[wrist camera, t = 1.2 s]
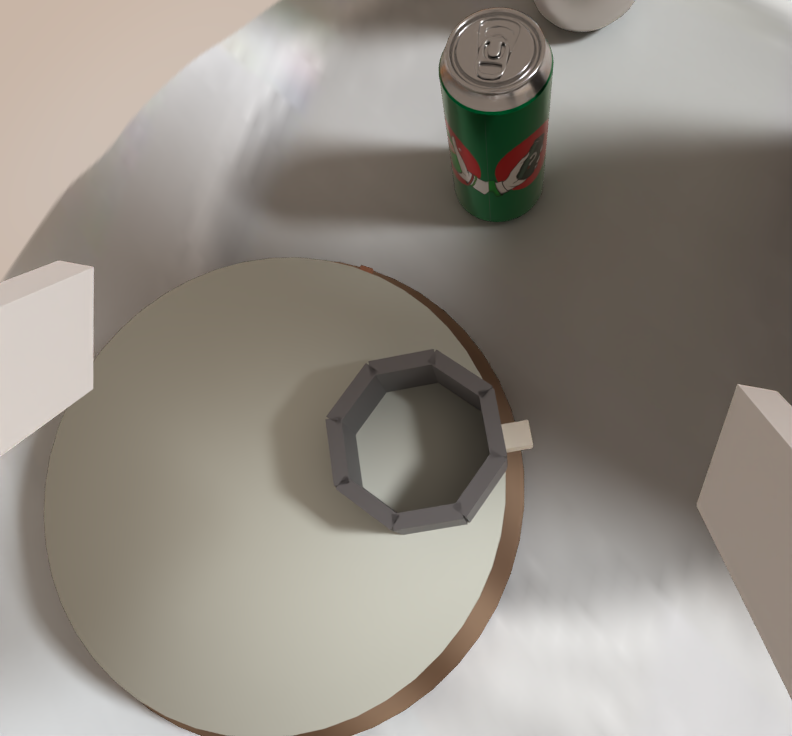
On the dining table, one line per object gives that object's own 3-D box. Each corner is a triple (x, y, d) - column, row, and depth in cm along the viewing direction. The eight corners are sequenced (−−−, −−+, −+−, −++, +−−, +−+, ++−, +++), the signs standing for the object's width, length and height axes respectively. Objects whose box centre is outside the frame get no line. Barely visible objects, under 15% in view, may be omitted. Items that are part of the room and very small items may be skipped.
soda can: (549, 154, 44) (564, 3, 32) (534, 232, 43) (543, 105, 31) (464, 144, 45) (449, -6, 33) (447, 220, 44) (425, 93, 32)
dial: (71, 760, 36) (0, 789, 31) (61, 316, 43) (1, 281, 38) (581, 687, 34) (594, 706, 29) (486, 229, 41) (483, 179, 35)
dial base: (332, 193, 45) (323, 173, 43) (627, 520, 38) (634, 516, 35) (-2, 459, 44) (-29, 452, 41) (237, 854, 36) (219, 871, 34)
